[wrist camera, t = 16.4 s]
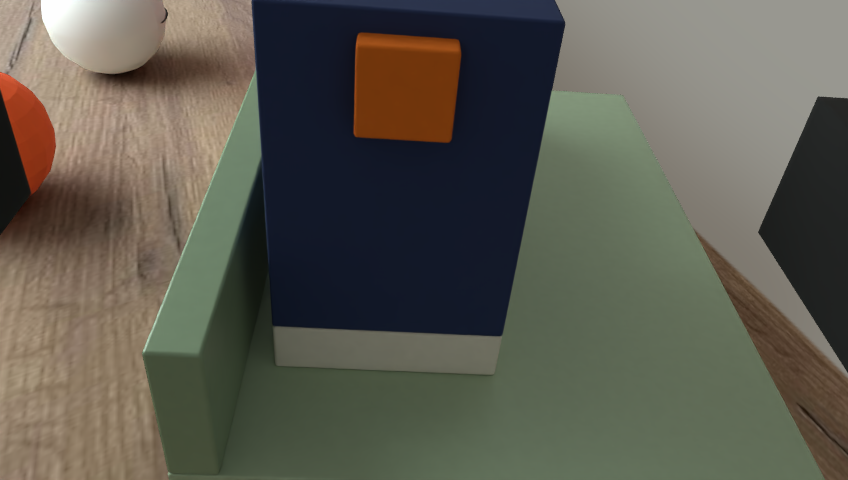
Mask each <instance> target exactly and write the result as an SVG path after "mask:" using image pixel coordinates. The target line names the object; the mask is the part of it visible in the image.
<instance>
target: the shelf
mask: <svg viewBox="0 0 848 480" xmlns="http://www.w3.org/2000/svg"><path fill="white" fill-rule="evenodd" d="M142 355H143V360H144V364H145V369H146V373H147V378H148V382H149V387H150V392H151V396H152V401H153V405H154V410H155V414H156V419H157V423H158V428H159V432H160V437H161V442H162V446H163V451H164V455H165V460H166V464H167V469H168V472H169V473H168V477H169V480H825V478H824V477H823V475H822V473H821V471H820V469H819V467H818V465H817V463H816V461H815V459H814V458H813V456H812V454H811V452H810V450H809V448H808V446H807V444H806V442H805V440H804V439H803V437H802V435H801V433H800V431H799V429H798V427H797V425H796V423H795V421H794V420H793V418H792V416H791V414H790V412H789V410H788V408H787V406H786V404H785V402H784V401H783V399H782V397H781V395H780V393H779V391H778V389H777V387H776V385H775V383H774V382H773V380H772V378H771V376H770V374H769V372H768V370H767V368H766V366H765V364H764V363H763V361H762V359H761V357H760V355H759V353H758V351H757V349H756V347H755V345H754V344H753V342H752V340H751V338H750V336H749V334H748V332H747V330H746V328H745V326H744V325H743V323H742V321H741V319H740V317H739V315H738V313H737V311H736V309H735V307H734V306H733V304H732V302H731V300H730V298H729V296H728V294H727V292H726V290H725V288H724V286H723V285H722V283H721V281H720V279H719V277H718V275H717V273H716V271H715V269H714V267H713V266H712V264H711V262H710V260H709V258H708V256H707V254H706V252H705V250H704V248H703V247H702V245H701V243H700V241H699V239H698V237H697V235H696V233H695V231H694V229H693V228H692V226H691V224H690V222H689V220H688V218H687V216H686V214H685V212H684V211H683V209H682V207H681V205H680V203H679V201H678V199H677V197H676V195H675V194H674V191H673V190H672V188H671V186H670V184H669V182H668V180H667V178H666V176H665V174H664V172H663V171H662V169H661V167H660V165H659V163H658V161H657V159H656V157H655V156H654V154H653V152H652V150H651V148H650V146H649V144H648V142H647V140H646V138H645V136H644V134H643V133H642V131H641V129H640V127H639V125H638V123H637V121H636V119H635V118H634V116H633V114H632V112H631V110H630V108H629V106H628V104H627V102H626V100H625V98H624V96H623V95H612V94H596V93H582V92H567V91H552V92H551V97H550V102H549V107H548V112H547V117H546V122H545V127H544V132H543V137H542V142H541V147H540V152H539V157H538V162H537V167H536V172H535V177H534V182H533V187H532V192H531V197H530V202H529V207H528V212H527V217H526V221H525V226H524V231H523V236H522V241H521V246H520V251H519V256H518V261H517V266H516V271H515V276H514V281H513V286H512V291H511V296H510V301H509V306H508V311H507V316H506V321H505V326H504V331H503V335H502V340H501V345H500V349H499V354H498V359H497V364H496V369H495V373H494V374H493V375H477V374H453V373H429V372H405V371H382V370H358V369H334V368H310V367H287V366H276V364H275V358H274V342H273V324H272V313H271V298H270V282H269V267H268V251H267V235H266V220H265V204H264V188H263V173H262V157H261V141H260V126H259V110H258V94H257V79H256V70H255V73H254V75H253V78H252V80H251V83H250V85H249V88H248V90H247V93H246V95H245V98H244V100H243V103H242V105H241V108H240V110H239V113H238V115H237V118H236V120H235V123H234V125H233V128H232V130H231V133H230V135H229V138H228V140H227V142H226V145H225V147H224V150H223V152H222V155H221V157H220V160H219V162H218V165H217V167H216V170H215V172H214V175H213V177H212V180H211V182H210V185H209V187H208V190H207V192H206V195H205V197H204V200H203V202H202V205H201V207H200V210H199V212H198V215H197V217H196V220H195V222H194V225H193V227H192V230H191V232H190V235H189V237H188V240H187V242H186V245H185V247H184V250H183V252H182V255H181V257H180V260H179V262H178V265H177V267H176V270H175V272H174V275H173V277H172V280H171V282H170V285H169V287H168V290H167V292H166V295H165V297H164V300H163V302H162V305H161V307H160V310H159V312H158V315H157V317H156V320H155V322H154V325H153V327H152V330H151V332H150V335H149V337H148V340H147V342H146V345H145V347H144V350H143V352H142Z"/></svg>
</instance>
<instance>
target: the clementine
mask: <svg viewBox="0 0 848 480" xmlns="http://www.w3.org/2000/svg"><path fill="white" fill-rule="evenodd" d="M0 90H1V93H2V96H3V100H4V103H5V106H6V110H7V113H8V116H9V120H10V123H11V126H12V130H13V133H14V136H15V140H16V143H17V146H18V150H19V153H20V156H21V160H22V163H23V166H24V170H25V173H26V176H27V180H28V183H29V186H30V190H31V195H32V194H33V193H34V192H35V191H37V189H38V188H39V187H40V185H41V184H42V182H43V181H44V179H45V178H46V176H47V175H48V173H49V172H50V170H51V166H52V162H53V158H54V154H55V148H56V144H55V133H54V128H53V126H52V124H51V121H50V119H49V117H48V114H47V112H46V110H45V108H44V106H43V104H42V103H41V102H40V101H39V100H38V98H37V97H36V96H35V95H34V94H33V92H32V91H30V90H29V89H28V88H27V87H25V86H24V85H22V84H21V83H20V82H18V81H17V80H15V79H14V78H12V77H11V76H10V75H7V74H4V73H2V72H0ZM31 195H30V196H31Z"/></svg>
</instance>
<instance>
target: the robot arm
mask: <svg viewBox="0 0 848 480" xmlns="http://www.w3.org/2000/svg"><path fill="white" fill-rule="evenodd" d="M30 195H31V190H30V186H29V183H28V180H27V176H26V173H25V170H24V166H23V163H22V160H21V156H20V153H19V150H18V146H17V143H16V140H15V136H14V133H13V130H12V126H11V123H10V120H9V116H8V113H7V110H6V106H5V103H4V100H3V96H2V93H1V90H0V235H1V233H2V232H3V231H4V229H5V228H6V227H7V225H8V224H9V223H10V221H11V220H12V219H13V217H14V216H15V215H16V213H17V212H18V211H19V209H20V208H21V207H22V205H23V204H24V203H25V201H26V200H27V199H28V197H29V196H30ZM758 233H759V234H760V236H761V237H762V239H763V240H764V242H765V243H766V245H767V247H768V248H769V250H770V251H771V253H772V254H773V256H774V258H775V259H776V261H777V262H778V264H779V266H780V267H781V269H782V270H783V272H784V273H785V275H786V277H787V278H788V279H789V281H790V283H791V284H792V286H793V287H794V289H795V291H796V292H797V294H798V295H799V297H800V299H801V300H802V301H803V303H804V305H805V306H806V308H807V309H808V311H809V313H810V314H811V316H812V317H813V319H814V320H815V322H816V324H817V325H818V327H819V328H820V330H821V331H822V333H823V335H824V336H825V338H826V339H827V341H828V342H829V344H830V346H831V347H832V349H833V350H834V352H835V353H836V355H837V357H838V358H839V360H840V361H841V362H842V364H843V366H844V367H845V369H846V371H847V372H848V99H847V98H833V97H818V98H817V100H816V102H815V105H814V107H813V109H812V111H811V113H810V116H809V118H808V120H807V123H806V125H805V127H804V130H803V132H802V134H801V136H800V138H799V141H798V143H797V145H796V147H795V150H794V152H793V154H792V157H791V159H790V161H789V163H788V166H787V168H786V170H785V172H784V175H783V177H782V179H781V181H780V184H779V186H778V188H777V191H776V193H775V195H774V197H773V200H772V202H771V205H770V206H769V209H768V211H767V213H766V216H765V218H764V220H763V222H762V225H761V227H760V229H759V232H758Z"/></svg>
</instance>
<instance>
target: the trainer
mask: <svg viewBox="0 0 848 480" xmlns="http://www.w3.org/2000/svg"><path fill="white" fill-rule="evenodd" d="M252 16H253V32H254V48H255V63H256V79H257V94H258V110H259V126H260V141H261V157H262V173H263V188H264V204H265V220H266V235H267V251H268V267H269V282H270V298H271V313H272V324H273V342H274V358H275V364H276V366H287V367H310V368H334V369H358V370H382V371H405V372H429V373H453V374H477V375H493V374H494V373H495V369H496V364H497V359H498V354H499V349H500V345H501V340H502V335H503V331H504V326H505V321H506V316H507V311H508V306H509V301H510V296H511V291H512V286H513V281H514V276H515V271H516V266H517V261H518V256H519V251H520V246H521V241H522V236H523V231H524V226H525V221H526V217H527V212H528V207H529V202H530V197H531V192H532V187H533V182H534V177H535V172H536V167H537V162H538V157H539V152H540V147H541V142H542V137H543V132H544V127H545V122H546V117H547V112H548V107H549V102H550V97H551V92H552V88H553V83H554V78H555V73H556V67H557V63H558V58H559V53H560V47H561V43H562V38H563V33H564V28H565V21H564V19H563V16H562V14H561V12H560V10H559V8H558V6H557V4H556V2H555V0H252Z"/></svg>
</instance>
